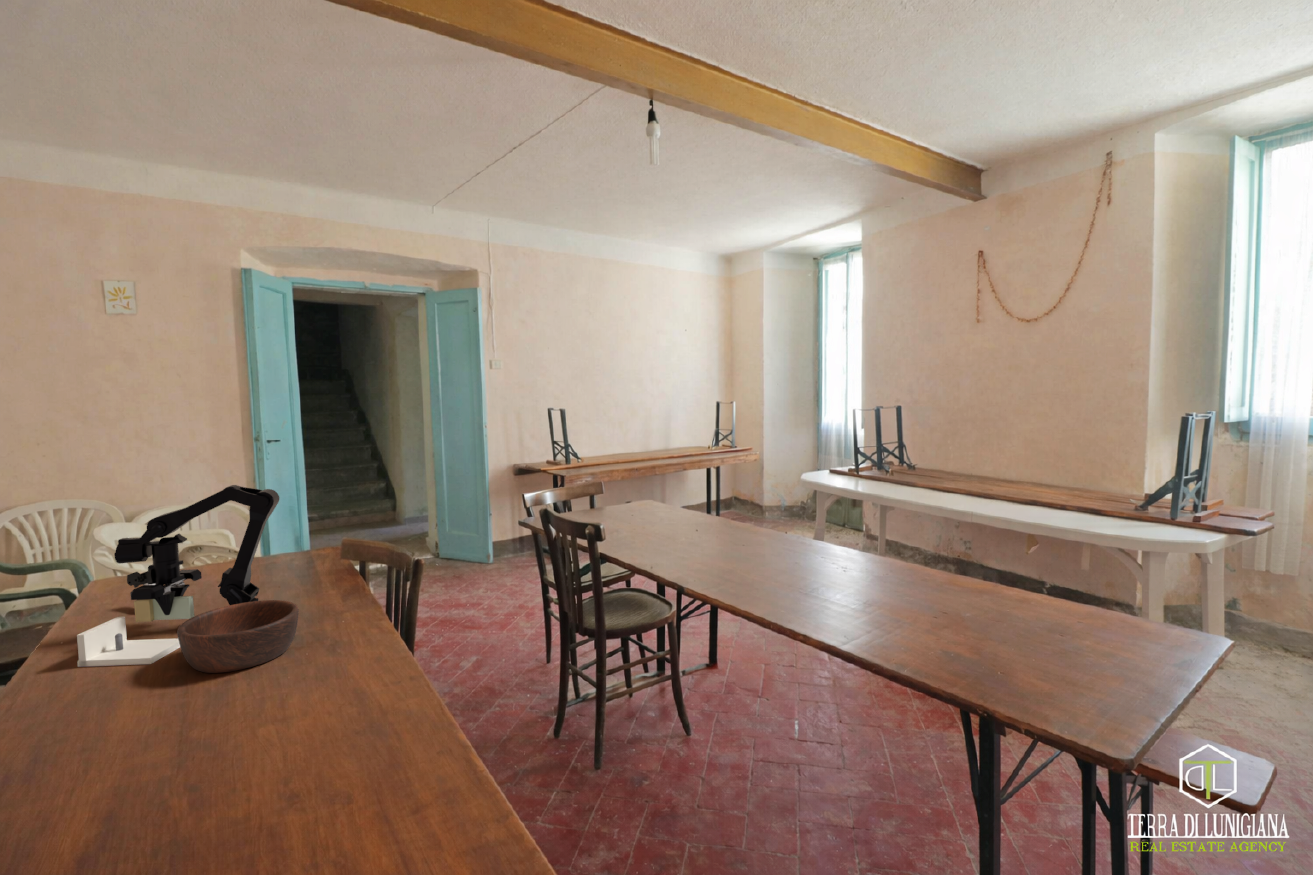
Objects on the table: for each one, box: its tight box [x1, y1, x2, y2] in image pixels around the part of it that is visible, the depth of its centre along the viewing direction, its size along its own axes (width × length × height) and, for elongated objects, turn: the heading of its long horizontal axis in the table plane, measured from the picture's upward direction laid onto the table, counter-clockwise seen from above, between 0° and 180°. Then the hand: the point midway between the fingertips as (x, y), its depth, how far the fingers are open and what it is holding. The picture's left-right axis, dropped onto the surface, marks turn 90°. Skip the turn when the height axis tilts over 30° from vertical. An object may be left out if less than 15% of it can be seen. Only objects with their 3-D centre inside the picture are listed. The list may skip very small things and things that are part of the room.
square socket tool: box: [133, 595, 195, 623], centre depth 165 cm, size 14×4×6 cm, turn 94°
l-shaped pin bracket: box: [76, 615, 181, 668], centre depth 150 cm, size 17×12×8 cm
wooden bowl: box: [176, 599, 299, 674], centre depth 149 cm, size 25×25×10 cm
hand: (169, 613), depth 166 cm, fingers closed on square socket tool, 2 cm apart
